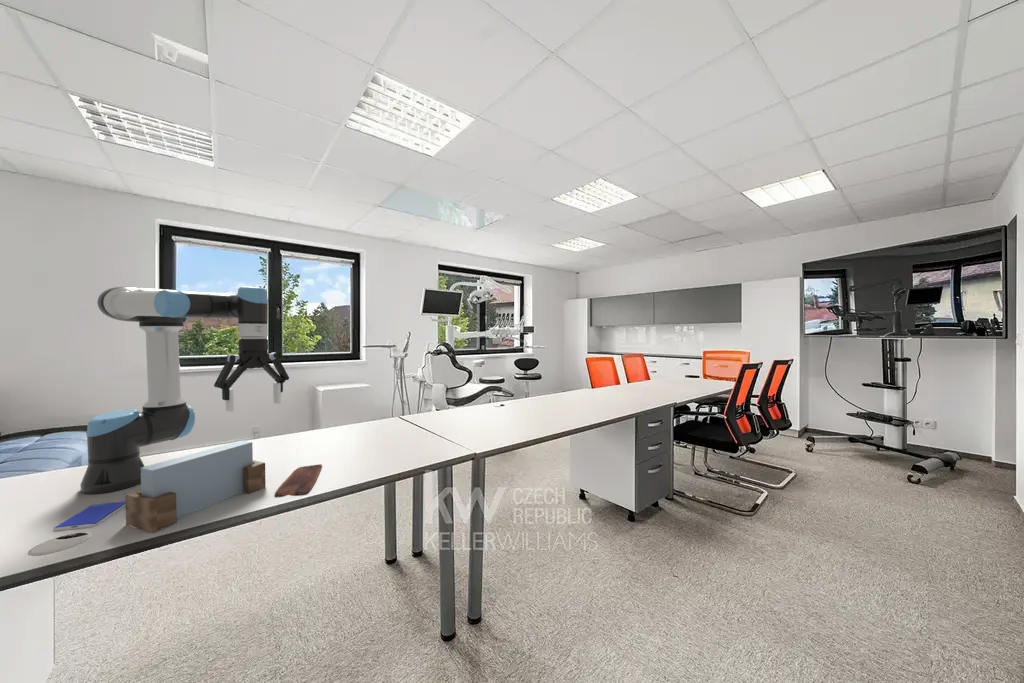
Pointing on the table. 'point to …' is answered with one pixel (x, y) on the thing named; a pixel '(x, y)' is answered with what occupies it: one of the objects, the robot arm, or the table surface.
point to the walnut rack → (163, 507)
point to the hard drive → (91, 516)
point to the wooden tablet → (299, 481)
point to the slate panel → (199, 476)
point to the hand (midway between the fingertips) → (254, 406)
